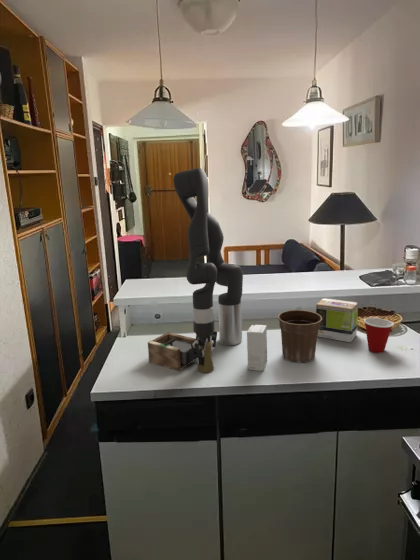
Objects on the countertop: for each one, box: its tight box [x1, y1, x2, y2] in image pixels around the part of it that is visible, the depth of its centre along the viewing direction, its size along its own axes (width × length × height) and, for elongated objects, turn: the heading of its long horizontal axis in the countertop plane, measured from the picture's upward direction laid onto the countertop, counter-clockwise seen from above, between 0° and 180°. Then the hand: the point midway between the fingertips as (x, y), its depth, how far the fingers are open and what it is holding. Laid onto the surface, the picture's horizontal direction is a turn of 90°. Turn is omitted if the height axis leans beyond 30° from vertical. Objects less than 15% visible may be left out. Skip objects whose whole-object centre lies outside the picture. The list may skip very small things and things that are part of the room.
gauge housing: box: [147, 331, 196, 371], centre depth 163 cm, size 14×12×8 cm
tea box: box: [315, 297, 359, 343], centre depth 180 cm, size 15×10×15 cm, turn 58°
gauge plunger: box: [164, 338, 198, 366], centre depth 159 cm, size 10×10×8 cm
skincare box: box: [246, 324, 268, 372], centre depth 156 cm, size 8×6×15 cm
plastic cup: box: [363, 317, 394, 354], centre depth 166 cm, size 11×11×12 cm
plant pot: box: [277, 309, 322, 364], centre depth 162 cm, size 16×16×16 cm
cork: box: [197, 341, 215, 374], centre depth 155 cm, size 6×6×11 cm
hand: (205, 362), depth 156 cm, fingers open, 4 cm apart
